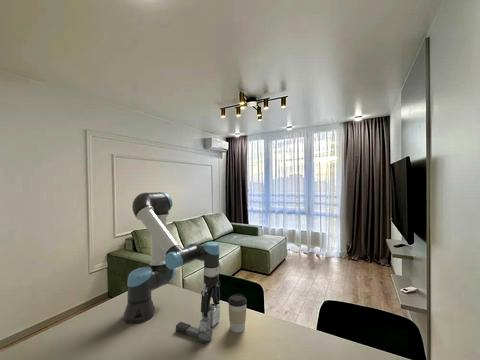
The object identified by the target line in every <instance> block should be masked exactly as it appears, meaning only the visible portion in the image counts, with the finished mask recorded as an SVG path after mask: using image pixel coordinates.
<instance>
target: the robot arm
mask: <svg viewBox="0 0 480 360" xmlns="http://www.w3.org/2000/svg"><path fill="white" fill-rule="evenodd" d="M131 208H132V213H133V214H134V216H135V218H136V219H137V220H139V221H141V222H142V224H143V226H145V228H146V229H147V231H148V233H150V235H151V257H152V258H151V259H152V260H151V261H150V262H149V266H142V267H138V268H136V269H133V270H132V271H131V272H130V273H128V275H127V283H126V284H127V294H126V295H127V296H126V297H127V300H126V301H127V303H126V307H125V309H124V312H123V322H125V323H126V324H130V325H135V324H140V323H141V324H142V323H143V322H146V321H149V320H151V319H152V318H153V317H154V316H155V311H156V310H155V305H154V302H153V299H152V292H153V291H155V290H157V289H159V288H160V287H163V286H166V285H168V284H169V283H171V282H172V281H173V280H174V278H175V275H176V269H178V268H181V267H182V266H185V265H186V264H190V263H192V262H195V261H201V262H203V284H204V285H205V287H204V290H201V292H200V293H201V294H200V295H201V303H200V313H201V314H202V313H204V317H206V318H209V316H210V312H209V306H210V303H211V298H212V304H215V305H218V306H220V301H221V282H220V275H219V273H220V244H219V243H217V242H216V241H214V242H213V241H207V242H205V243H204V245H203V244H198V243H194V242H193V243H191V242H190V243H187V245H185V247H183V248H182V246H180V244H179V243H178V242H177V241H176V239H175V238H174V236H173V235H172V234H171V232H170V231H169V230H168V227H167V217H168V216H169V211H170V210H172V208H173V199H172V197H171V196H170V195H169V194H168V193H167V192H161V191H159V192H142V193H139V194H138V195H137V196H136V197H135V198H134V199H133V201H132V207H131Z"/></svg>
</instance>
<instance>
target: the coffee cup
mask: <svg viewBox="0 0 480 360" xmlns="http://www.w3.org/2000/svg"><path fill="white" fill-rule="evenodd" d="M227 303H228V317H229V325H230V326H229V328H230V331H231V332H232V333H236V334H238V333H243V332H244V331H245V329H246V328H245V327H246V320H247V319H246V317H247V303H248V300H247V298H246V297H245V296H244V295H243V294H242V293H239V292H238V293H235V294H232V295H231V296H229V298H228V301H227Z"/></svg>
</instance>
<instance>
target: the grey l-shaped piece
mask: <svg viewBox="0 0 480 360" xmlns="http://www.w3.org/2000/svg"><path fill="white" fill-rule="evenodd" d="M211 328H212V327H211V326H210V319H209V318H206V317H204V318H203V319H202V318H201V319H200V320H199V328H198V327H195V326H191V324H189V323H186V322H183V321H179V323H177V324H176V325H175V332H176V333H178V334H181V335H185V336H187V337H191V338H192V339H196V340H198V343H199V344H200V345H201V344H202V345H207V344H209V343H211V342H212V340H213V329H211Z"/></svg>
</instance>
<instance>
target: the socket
mask: <svg viewBox="0 0 480 360" xmlns="http://www.w3.org/2000/svg"><path fill="white" fill-rule="evenodd" d="M220 310H221V307H220V305H215V304H214V303H211V302H210V306H209V312H210V316H209V319H210V328H213V327H214V326H215V325H216V324H217V323H219V321H220V319H221V318H220V317H221V316H220V315H221V313H220V312H221V311H220ZM203 318H204V313H202V312H201V319H203Z"/></svg>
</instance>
